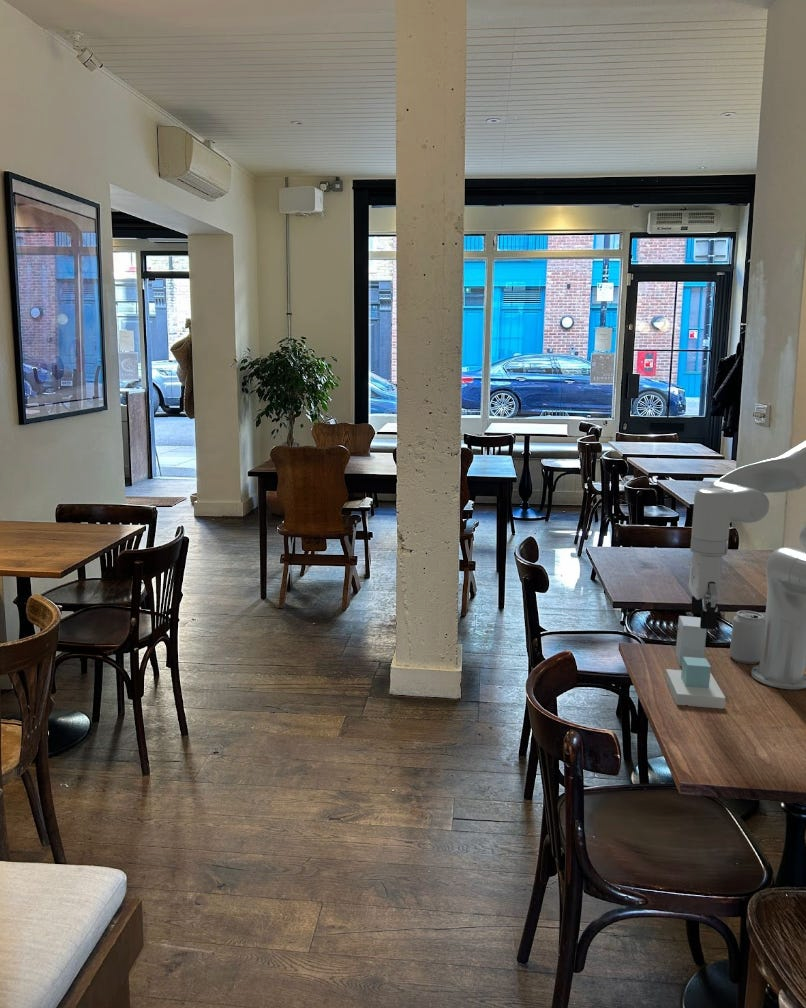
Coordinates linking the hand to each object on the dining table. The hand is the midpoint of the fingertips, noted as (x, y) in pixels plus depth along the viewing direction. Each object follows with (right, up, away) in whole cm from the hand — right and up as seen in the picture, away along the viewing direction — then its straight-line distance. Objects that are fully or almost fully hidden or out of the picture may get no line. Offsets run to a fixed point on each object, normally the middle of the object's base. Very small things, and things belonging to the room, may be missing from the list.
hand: (702, 620), depth 180 cm
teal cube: (-1, -14, +3) cm, 15 cm away
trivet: (-1, -17, +3) cm, 17 cm away
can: (+20, -13, +24) cm, 34 cm away
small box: (+5, -13, +22) cm, 26 cm away
